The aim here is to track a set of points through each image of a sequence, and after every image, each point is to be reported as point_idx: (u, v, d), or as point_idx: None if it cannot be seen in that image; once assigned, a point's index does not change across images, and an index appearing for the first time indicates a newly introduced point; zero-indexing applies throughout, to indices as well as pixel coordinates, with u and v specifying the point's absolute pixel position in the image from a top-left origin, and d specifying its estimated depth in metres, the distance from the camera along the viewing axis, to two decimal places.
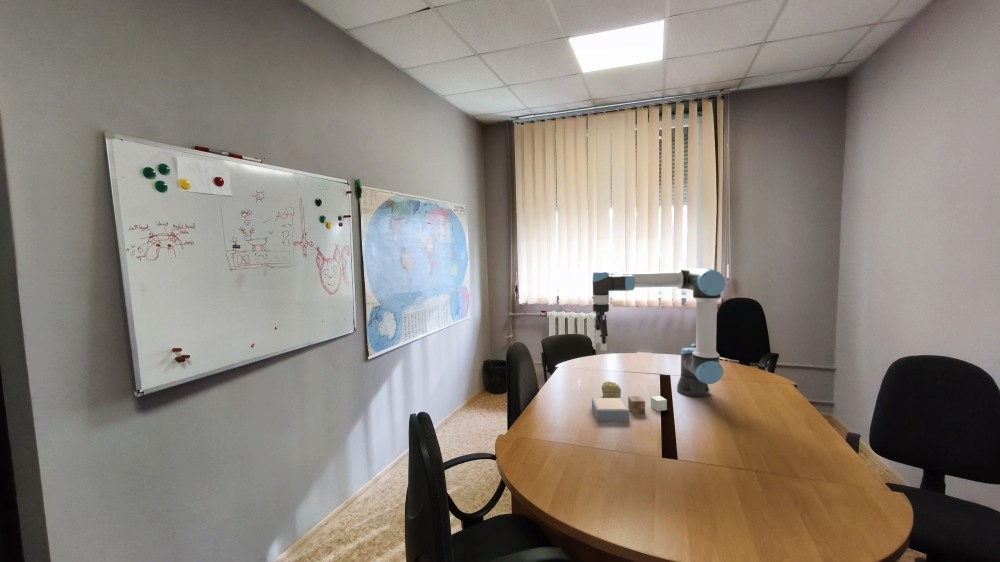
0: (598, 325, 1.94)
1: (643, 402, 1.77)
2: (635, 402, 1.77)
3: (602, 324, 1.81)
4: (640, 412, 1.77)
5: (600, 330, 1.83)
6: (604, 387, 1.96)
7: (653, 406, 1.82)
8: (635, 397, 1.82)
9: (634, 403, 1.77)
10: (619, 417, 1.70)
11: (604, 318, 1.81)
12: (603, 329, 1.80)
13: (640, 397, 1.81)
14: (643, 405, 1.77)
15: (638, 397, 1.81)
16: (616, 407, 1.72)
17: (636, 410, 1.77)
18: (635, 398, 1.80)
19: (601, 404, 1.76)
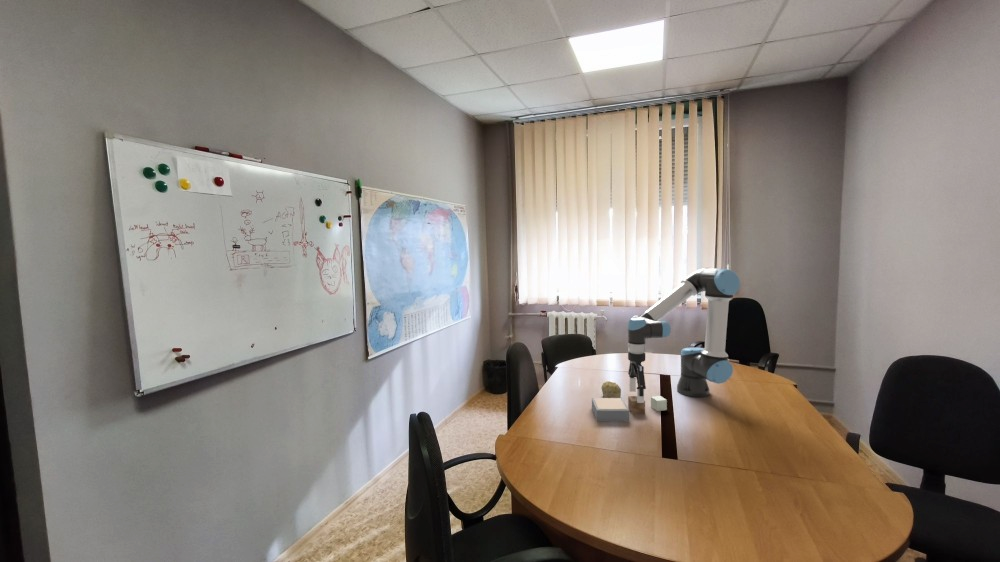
0: (632, 373, 1.84)
1: None
2: (634, 402, 1.77)
3: (639, 376, 1.71)
4: (640, 412, 1.77)
5: (637, 381, 1.74)
6: (604, 387, 1.96)
7: (653, 406, 1.82)
8: (635, 397, 1.82)
9: (634, 403, 1.77)
10: (619, 417, 1.70)
11: (641, 369, 1.72)
12: (641, 381, 1.70)
13: None
14: (643, 405, 1.77)
15: None
16: (616, 407, 1.72)
17: (636, 410, 1.77)
18: (635, 398, 1.80)
19: (601, 404, 1.76)
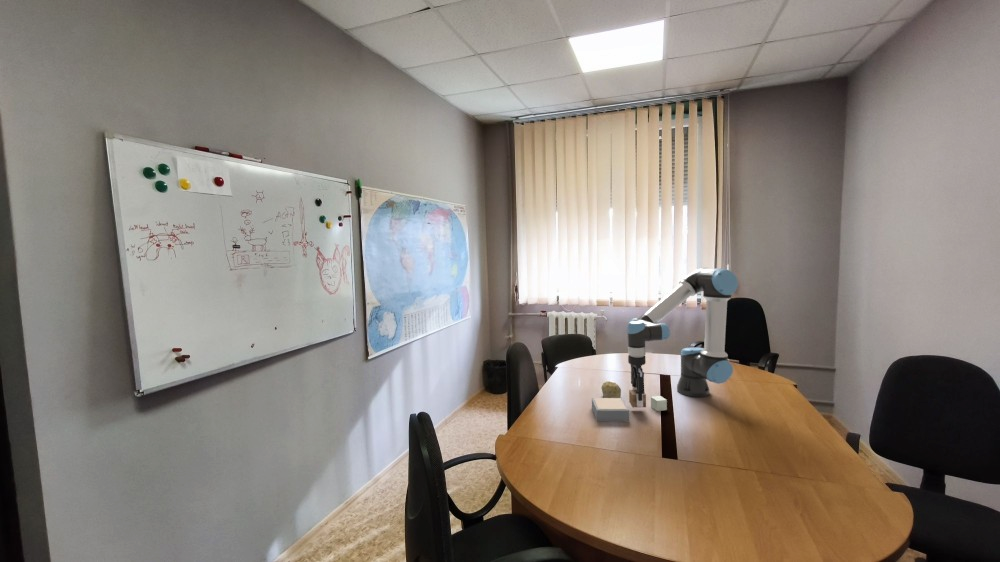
0: (635, 380, 1.82)
1: (644, 395, 1.77)
2: (635, 395, 1.77)
3: (639, 382, 1.73)
4: None
5: (636, 385, 1.76)
6: (604, 387, 1.96)
7: (653, 406, 1.82)
8: (636, 390, 1.81)
9: (635, 396, 1.77)
10: (619, 417, 1.70)
11: (642, 375, 1.72)
12: (640, 387, 1.73)
13: None
14: (644, 398, 1.77)
15: None
16: (616, 407, 1.72)
17: None
18: None
19: (601, 404, 1.76)
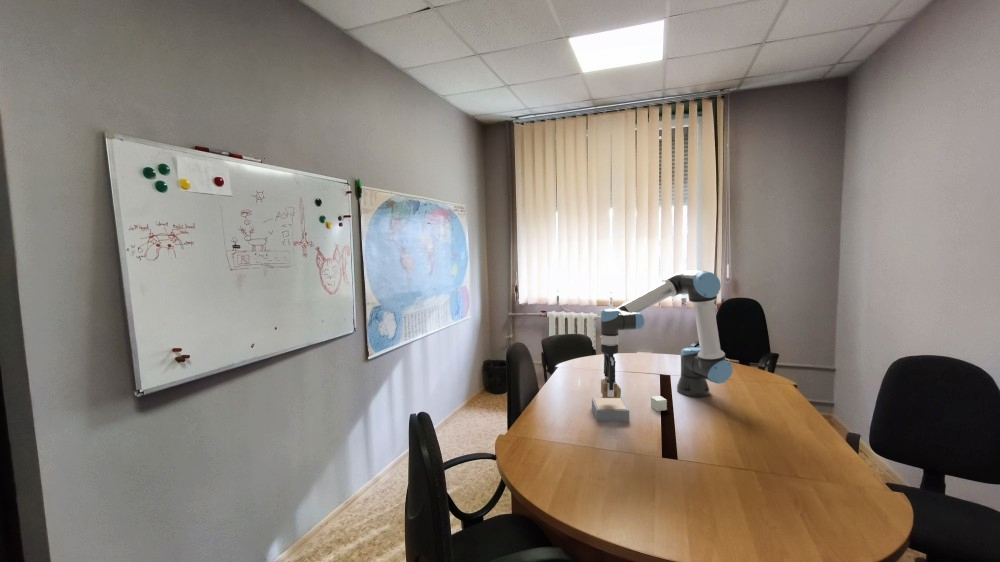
0: (607, 370, 1.78)
1: (615, 385, 1.73)
2: (606, 384, 1.73)
3: (610, 370, 1.69)
4: None
5: (607, 374, 1.73)
6: None
7: (653, 406, 1.82)
8: None
9: (606, 385, 1.73)
10: (619, 417, 1.70)
11: (613, 364, 1.69)
12: (611, 376, 1.69)
13: None
14: (615, 388, 1.73)
15: None
16: (616, 407, 1.72)
17: None
18: None
19: (601, 404, 1.76)
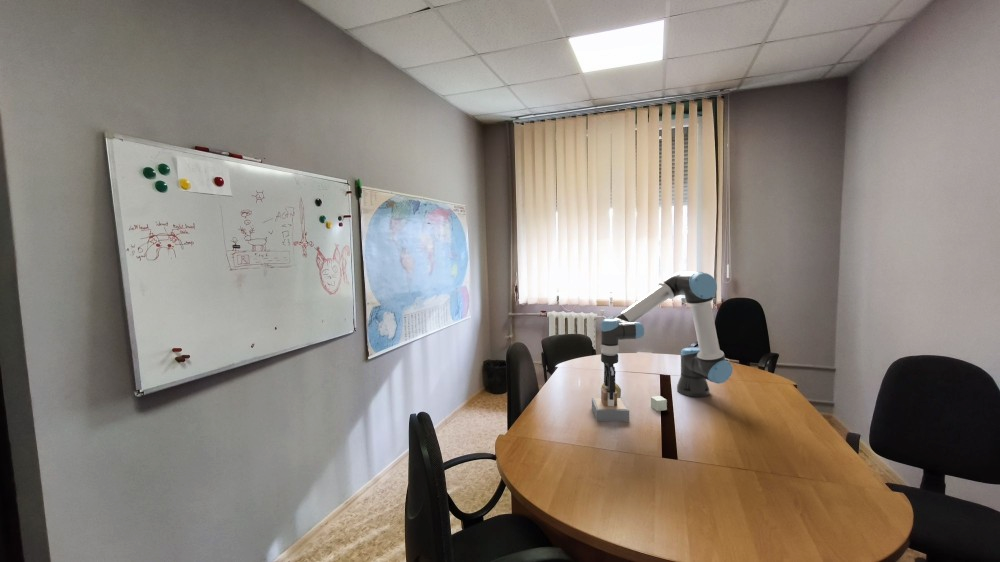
0: (607, 379, 1.79)
1: (615, 394, 1.73)
2: (606, 394, 1.74)
3: (610, 380, 1.70)
4: None
5: (608, 384, 1.73)
6: (604, 387, 1.96)
7: (653, 406, 1.82)
8: None
9: (606, 395, 1.74)
10: (619, 417, 1.70)
11: (613, 374, 1.69)
12: (611, 386, 1.70)
13: None
14: (615, 397, 1.73)
15: None
16: (616, 407, 1.72)
17: None
18: (607, 390, 1.76)
19: (601, 404, 1.76)
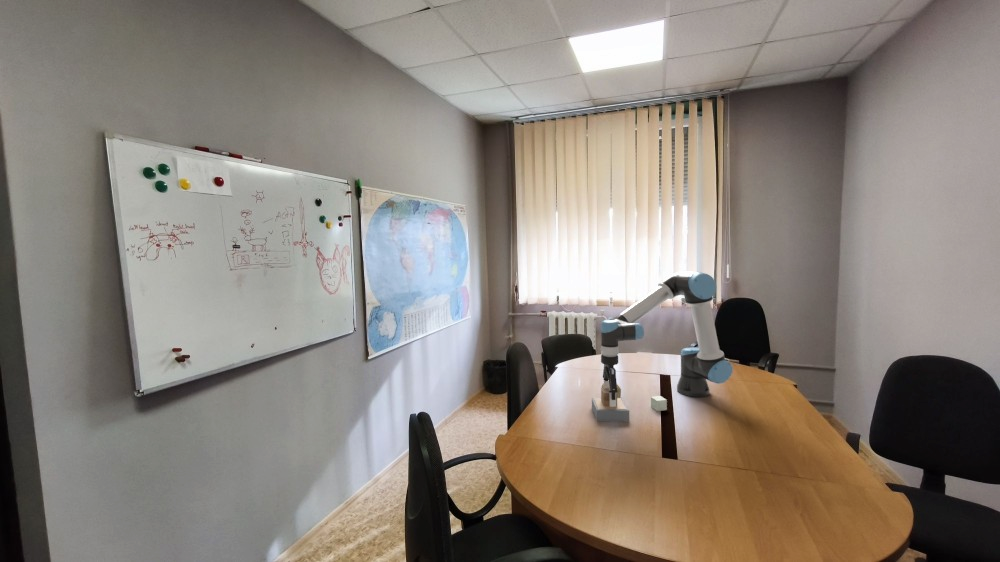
0: (606, 376, 1.81)
1: None
2: (606, 394, 1.74)
3: (611, 379, 1.68)
4: None
5: (609, 385, 1.71)
6: None
7: (653, 406, 1.82)
8: (608, 389, 1.78)
9: (606, 395, 1.74)
10: (619, 417, 1.70)
11: (613, 372, 1.69)
12: (612, 385, 1.67)
13: (613, 389, 1.78)
14: None
15: None
16: (616, 407, 1.72)
17: (608, 402, 1.74)
18: (607, 390, 1.76)
19: (601, 404, 1.76)
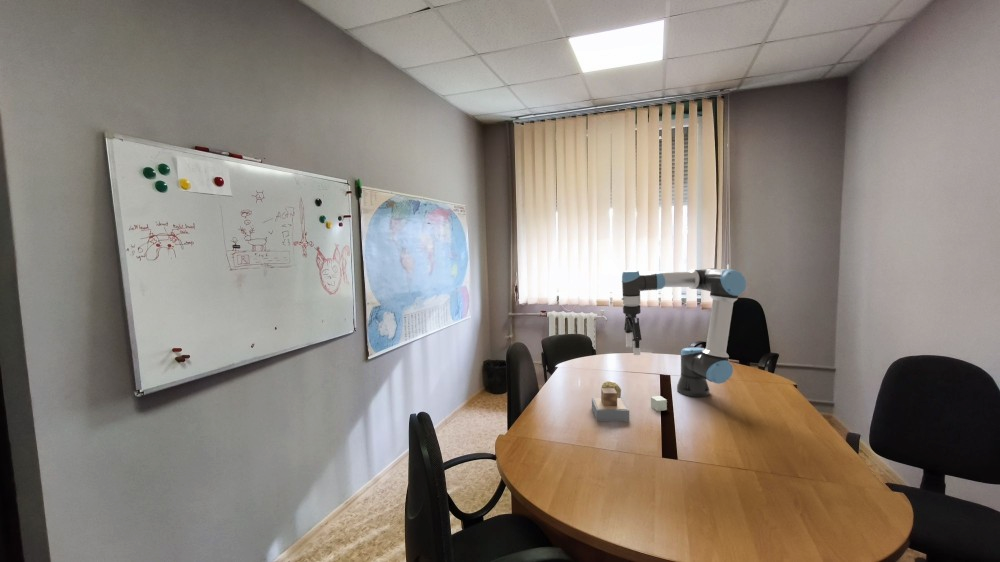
0: (628, 328, 1.82)
1: (615, 394, 1.73)
2: (606, 394, 1.74)
3: (635, 327, 1.69)
4: (612, 404, 1.74)
5: None
6: (604, 387, 1.96)
7: (653, 406, 1.82)
8: (608, 389, 1.78)
9: (606, 395, 1.74)
10: (619, 417, 1.70)
11: (637, 321, 1.69)
12: (636, 333, 1.68)
13: (613, 389, 1.78)
14: (615, 397, 1.73)
15: (611, 389, 1.78)
16: (616, 407, 1.72)
17: (608, 402, 1.74)
18: (607, 390, 1.76)
19: (601, 404, 1.76)
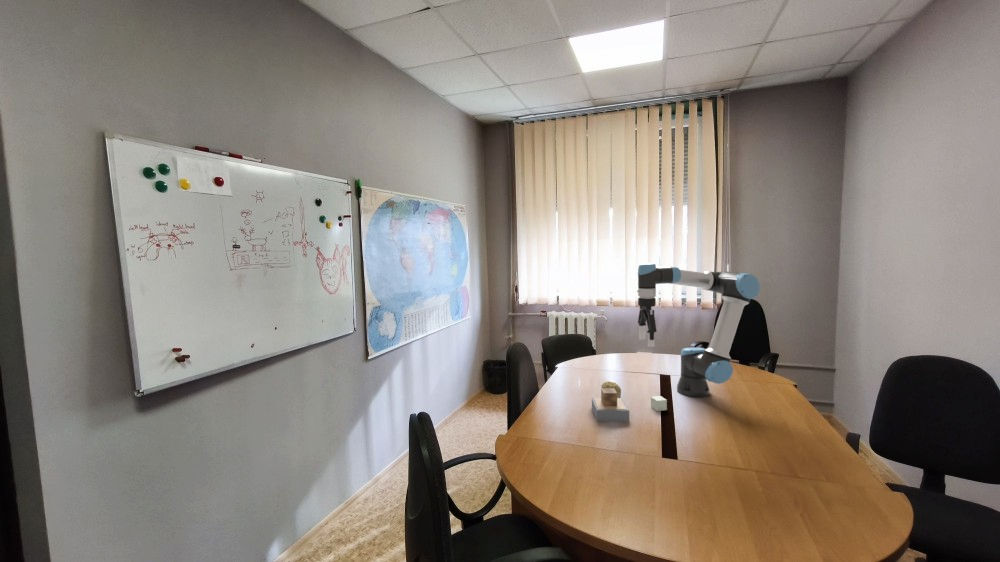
0: (642, 320, 1.84)
1: (615, 394, 1.73)
2: (606, 394, 1.74)
3: (650, 319, 1.70)
4: (612, 404, 1.74)
5: None
6: (604, 387, 1.96)
7: (653, 406, 1.82)
8: (608, 389, 1.78)
9: (606, 395, 1.74)
10: (619, 417, 1.70)
11: (652, 313, 1.71)
12: (651, 324, 1.69)
13: (613, 389, 1.78)
14: (615, 397, 1.73)
15: (611, 389, 1.78)
16: (616, 407, 1.72)
17: (608, 402, 1.74)
18: (607, 390, 1.76)
19: (601, 404, 1.76)
